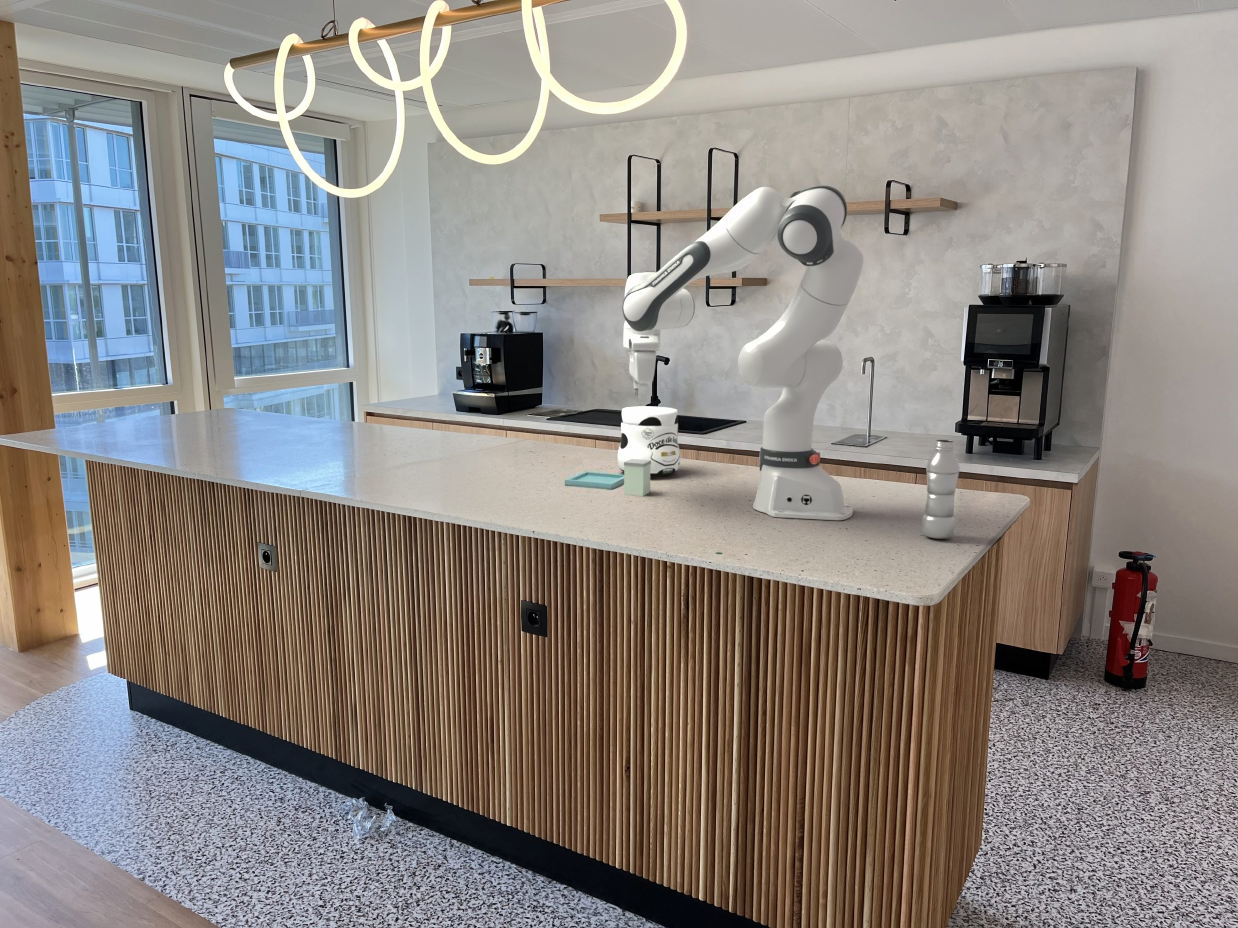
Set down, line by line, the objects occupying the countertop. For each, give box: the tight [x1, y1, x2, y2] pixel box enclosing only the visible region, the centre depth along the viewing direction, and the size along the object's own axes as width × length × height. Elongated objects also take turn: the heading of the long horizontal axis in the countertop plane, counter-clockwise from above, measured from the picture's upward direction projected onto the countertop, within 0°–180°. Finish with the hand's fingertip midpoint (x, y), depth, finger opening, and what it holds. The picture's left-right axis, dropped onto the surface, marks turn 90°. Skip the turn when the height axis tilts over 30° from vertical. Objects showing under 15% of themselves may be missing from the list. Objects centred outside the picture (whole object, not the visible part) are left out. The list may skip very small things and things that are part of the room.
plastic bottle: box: [921, 439, 960, 540], centre depth 180 cm, size 6×7×20 cm
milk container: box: [617, 405, 682, 478], centre depth 244 cm, size 17×17×18 cm
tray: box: [564, 471, 624, 490], centre depth 233 cm, size 13×13×1 cm
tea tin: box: [623, 459, 651, 497], centre depth 220 cm, size 5×5×8 cm
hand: (639, 398), depth 216 cm, fingers open, 8 cm apart
